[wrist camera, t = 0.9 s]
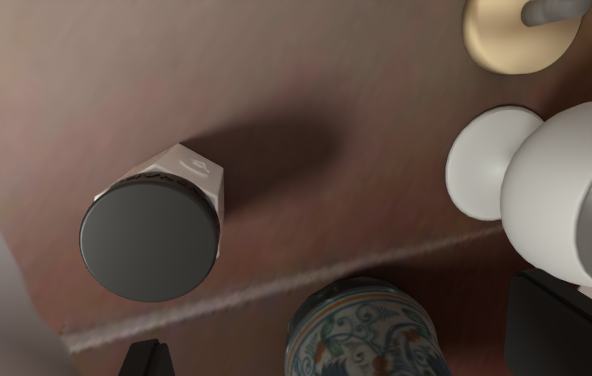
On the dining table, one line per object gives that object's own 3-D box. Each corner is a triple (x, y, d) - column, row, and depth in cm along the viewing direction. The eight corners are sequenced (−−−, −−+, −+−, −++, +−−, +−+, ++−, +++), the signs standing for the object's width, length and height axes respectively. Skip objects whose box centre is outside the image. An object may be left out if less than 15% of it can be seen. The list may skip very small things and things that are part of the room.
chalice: (544, 223, 40) (712, 298, 26) (428, 231, 38) (540, 316, 24) (569, 95, 36) (782, 100, 22) (442, 96, 34) (586, 101, 20)
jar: (245, 177, 34) (248, 223, 22) (203, 247, 35) (185, 324, 23) (156, 127, 31) (108, 150, 20) (114, 204, 32) (46, 267, 21)
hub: (461, -36, 31) (521, -70, 25) (563, -48, 32) (647, -83, 26) (461, 81, 34) (515, 79, 28) (555, 67, 35) (629, 62, 29)
